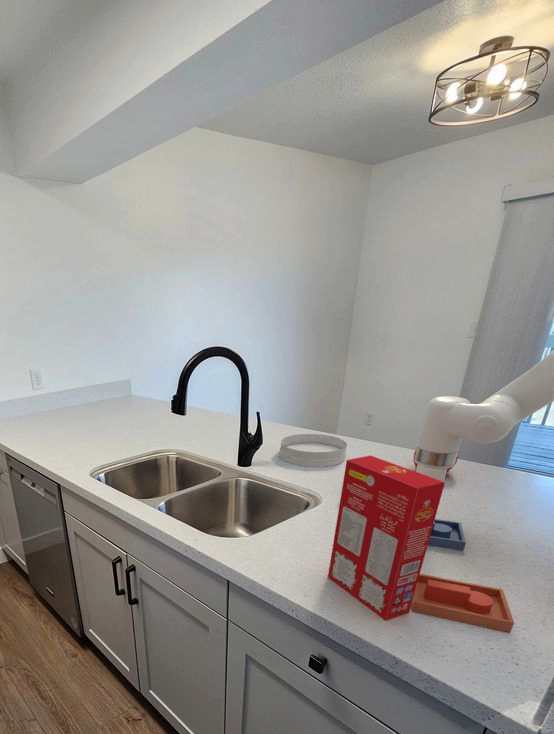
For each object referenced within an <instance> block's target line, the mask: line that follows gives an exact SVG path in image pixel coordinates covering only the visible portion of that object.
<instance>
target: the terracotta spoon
mask: <svg viewBox="0 0 554 734" xmlns="http://www.w3.org/2000/svg"><path fill="white" fill-rule="evenodd" d="M424 596H425V599H428V600H433V601H438V602H442V603H447V604H452V605H457V606H462V607H464V608H465V609H467V610H469V611H471V612H474V613H479V614H486V613H489V612H490V610H491V607H492V605H493V600H492V598H491V597H489V596H488V595H486V594H484V593H481V592H478V591H470V587H466V586H461V585H455V584H450V583H445V582H440V581H434V580H429V579H428V581H427V585H426V588H425V591H424Z"/></svg>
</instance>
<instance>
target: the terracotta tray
mask: <svg viewBox="0 0 554 734" xmlns="http://www.w3.org/2000/svg"><path fill="white" fill-rule="evenodd" d="M428 579H429V580H434V581H440V582H445V583H450V584H455V585H461V586H466V587H470V591H478V592H481V593H484V594H486V595H488V596H489V597H491V598H492V600H493V605H492V607H491V610H490V612H489V613H486V614H479V613H474V612H471V611H469V610H467V609H465V608H464V607H462V606H457V605H452V604H447V603H442V602H438V601H433V600H428V599H425V596H424V591H425V588H426V585H427V581H428ZM411 611H412V612H416V613H420V614H425V615H429V616H433V617H437V618H442V619H448V620H451V621H456V622H461V623H466V624H469V625H474V626H478V627H479V626H480V627H483V628H489V629H492V630H497V631H502V632H505V633H511V631H512V629H513V627H514V625H515V621H514V618H513V616H512V612H511V610H510V606H509V604H508V600H507V597H506V595H505V591H504V589H503V588H498V587H494V586H493V587H492V586H487V585H481V584H476V583H471V582H465V581H461V580H455V579H450V578H445V577H444V578H443V577H440V576H434V575H428V574H424V573H420V574H419V578H418V582H417V585H416V589H415V592H414V596H413V600H412V603H411Z"/></svg>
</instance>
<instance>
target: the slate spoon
mask: <svg viewBox="0 0 554 734" xmlns="http://www.w3.org/2000/svg"><path fill="white" fill-rule="evenodd" d="M451 532H452V528H451V527H449V526H447V525H444V524H439V523H435V520H434V524H433V527H432V531H431V535H430V536H434V537H440V538H449V537H450V535H451Z"/></svg>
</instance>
